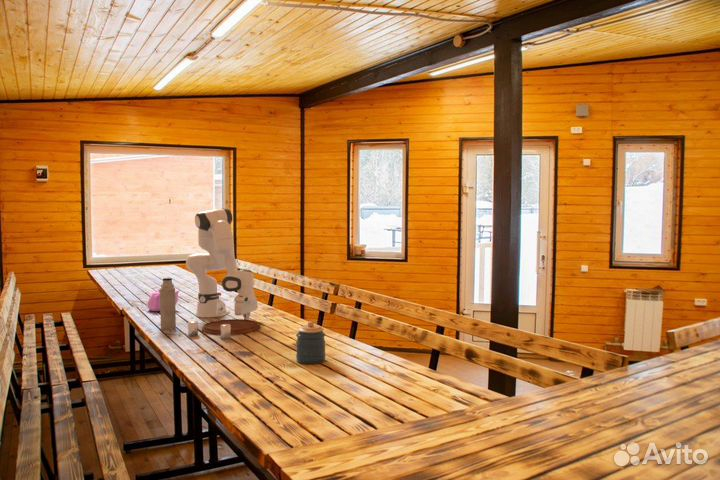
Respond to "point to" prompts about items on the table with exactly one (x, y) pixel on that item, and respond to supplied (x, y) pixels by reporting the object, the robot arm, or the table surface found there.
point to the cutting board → (236, 326)
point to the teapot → (158, 301)
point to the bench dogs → (194, 330)
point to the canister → (310, 344)
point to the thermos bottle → (167, 304)
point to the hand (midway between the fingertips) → (246, 320)
